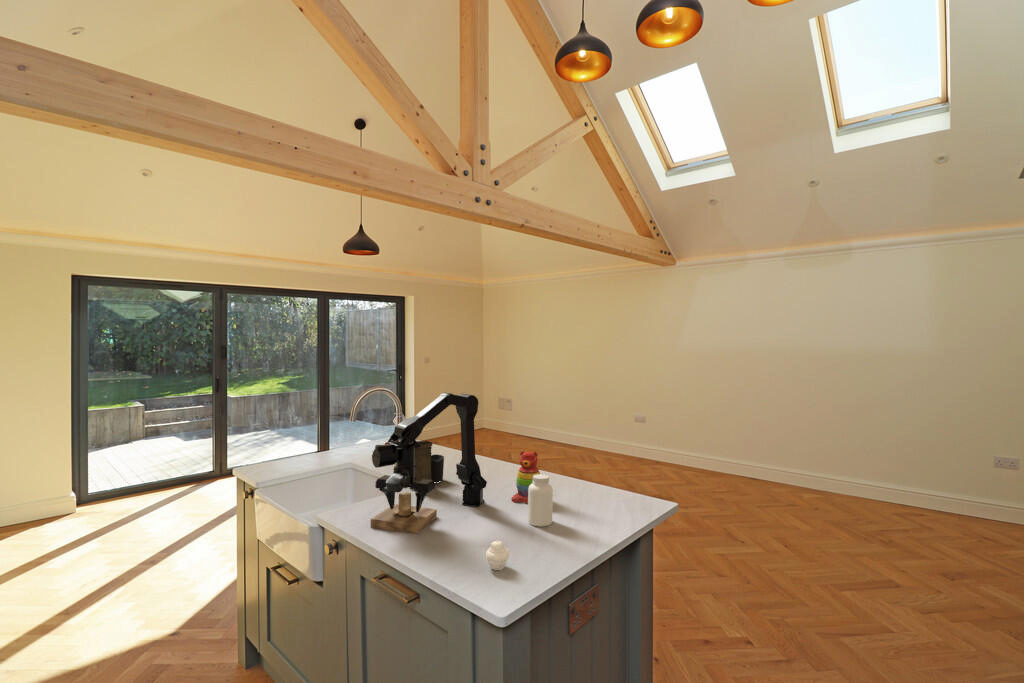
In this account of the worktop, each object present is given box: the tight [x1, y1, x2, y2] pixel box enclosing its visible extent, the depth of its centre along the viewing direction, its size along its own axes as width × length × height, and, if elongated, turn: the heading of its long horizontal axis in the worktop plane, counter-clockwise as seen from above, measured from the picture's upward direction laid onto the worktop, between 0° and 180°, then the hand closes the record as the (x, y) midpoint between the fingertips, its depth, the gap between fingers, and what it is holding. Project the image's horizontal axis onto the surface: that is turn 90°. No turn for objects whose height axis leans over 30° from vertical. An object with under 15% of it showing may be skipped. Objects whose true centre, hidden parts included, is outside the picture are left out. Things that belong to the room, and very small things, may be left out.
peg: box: [398, 491, 412, 518], centre depth 149 cm, size 4×4×9 cm
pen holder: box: [431, 454, 445, 482], centre depth 193 cm, size 9×9×10 cm
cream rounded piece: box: [485, 540, 510, 571], centre depth 119 cm, size 6×6×7 cm
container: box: [410, 440, 433, 490], centre depth 184 cm, size 9×9×18 cm
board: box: [370, 503, 438, 534], centre depth 149 cm, size 16×14×2 cm
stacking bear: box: [510, 451, 541, 504], centre depth 172 cm, size 11×10×18 cm
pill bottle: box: [527, 473, 554, 527], centre depth 150 cm, size 8×8×15 cm
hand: (404, 510), depth 149 cm, fingers open, 9 cm apart
